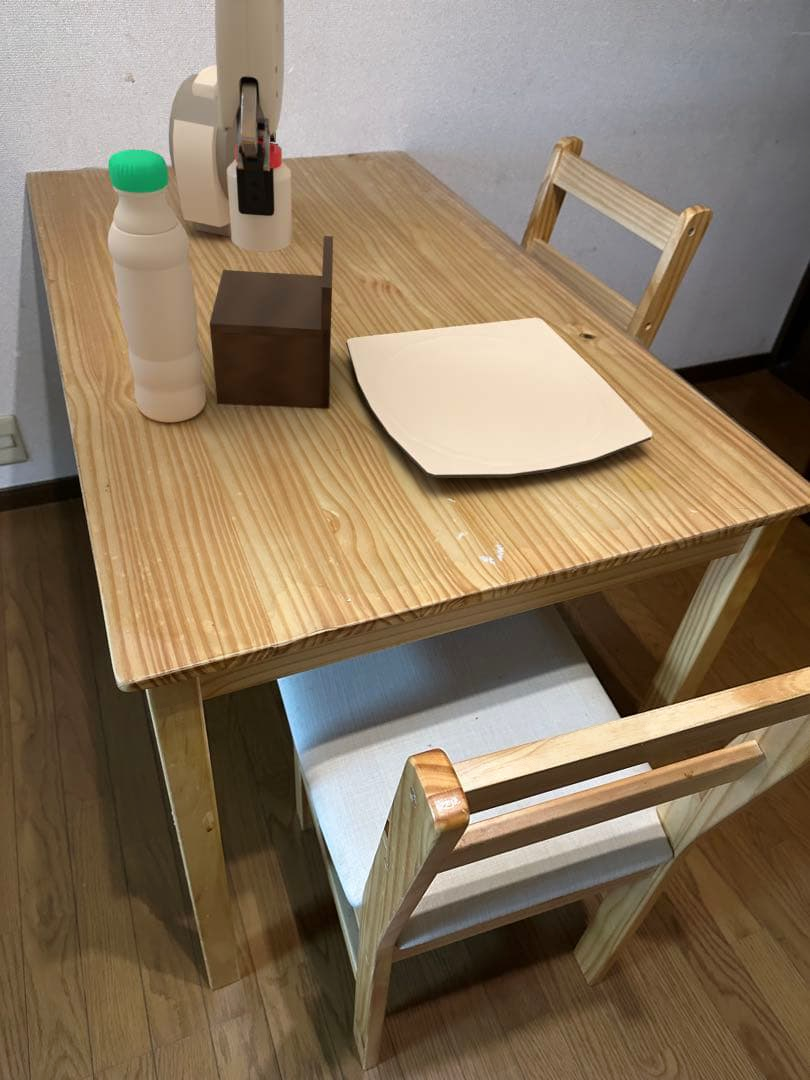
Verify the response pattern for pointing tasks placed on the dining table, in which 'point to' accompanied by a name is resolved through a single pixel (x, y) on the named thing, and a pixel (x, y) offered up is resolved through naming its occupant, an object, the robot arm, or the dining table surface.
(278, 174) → the pill bottle
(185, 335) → the water bottle
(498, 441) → the plate
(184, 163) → the alarm clock
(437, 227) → the dining table surface
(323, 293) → the wooden block chair
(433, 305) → the dining table surface
